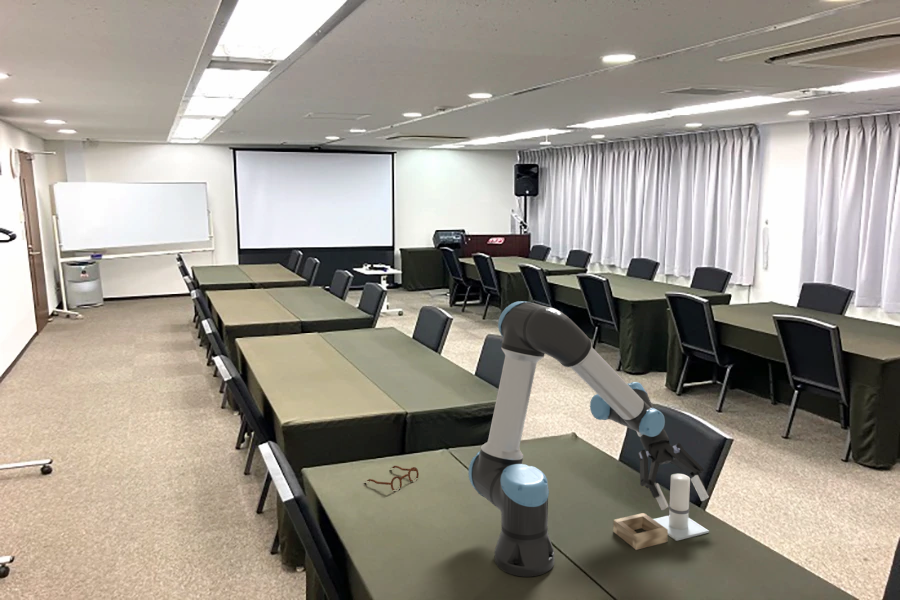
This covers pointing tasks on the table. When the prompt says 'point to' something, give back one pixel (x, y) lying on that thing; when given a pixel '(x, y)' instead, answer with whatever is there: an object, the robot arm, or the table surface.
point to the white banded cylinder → (679, 501)
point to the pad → (678, 534)
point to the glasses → (398, 477)
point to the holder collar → (644, 539)
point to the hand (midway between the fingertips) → (685, 503)
